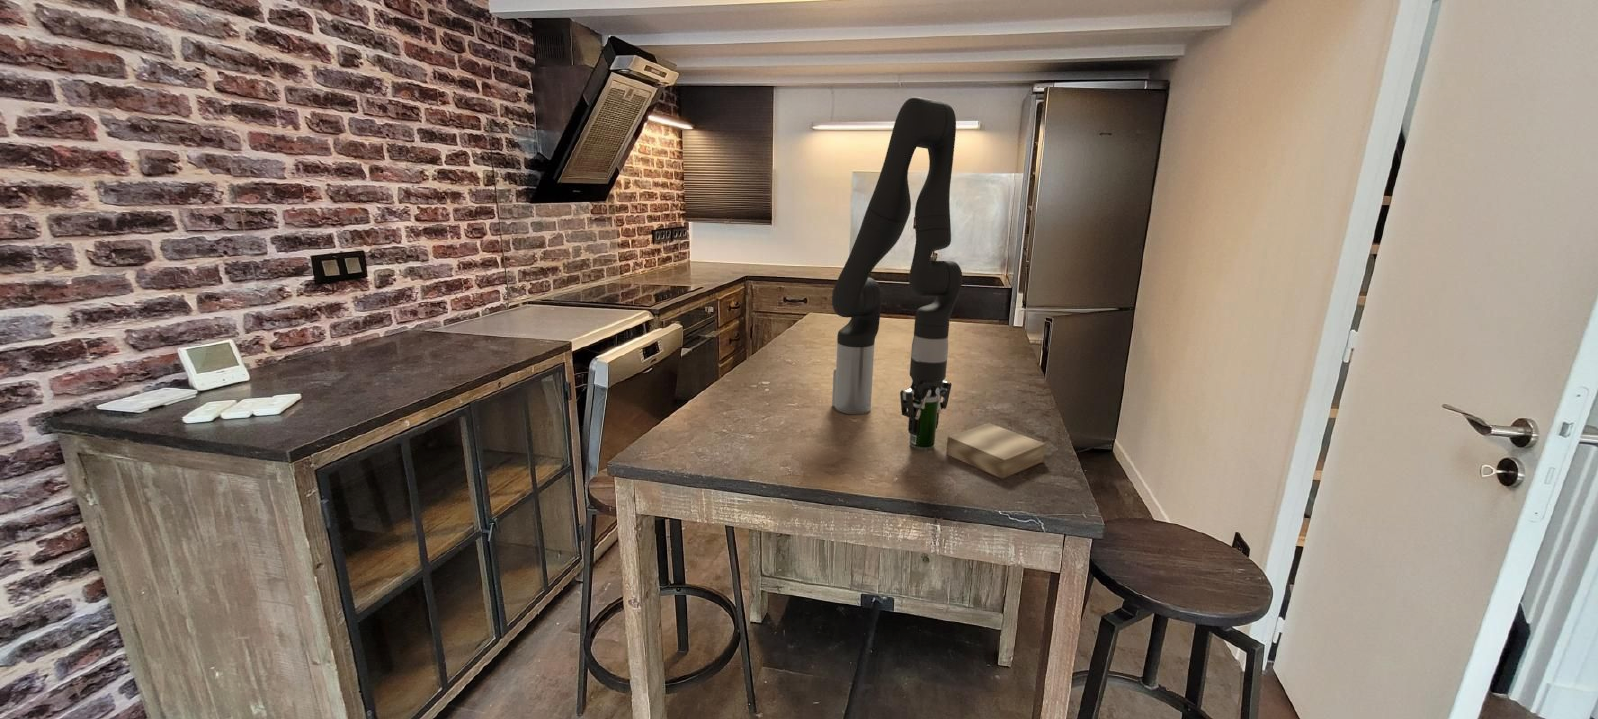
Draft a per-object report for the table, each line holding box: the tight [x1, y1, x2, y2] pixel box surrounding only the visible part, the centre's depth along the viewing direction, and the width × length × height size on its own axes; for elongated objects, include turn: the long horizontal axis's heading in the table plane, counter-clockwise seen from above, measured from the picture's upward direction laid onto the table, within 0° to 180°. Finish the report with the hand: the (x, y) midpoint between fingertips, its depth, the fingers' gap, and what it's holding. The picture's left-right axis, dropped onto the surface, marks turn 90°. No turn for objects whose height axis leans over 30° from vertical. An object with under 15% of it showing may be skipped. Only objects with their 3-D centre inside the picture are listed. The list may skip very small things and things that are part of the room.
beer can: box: [909, 394, 938, 451], centre depth 133 cm, size 5×5×12 cm
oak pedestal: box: [945, 422, 1046, 479], centre depth 129 cm, size 14×14×4 cm
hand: (922, 430), depth 134 cm, fingers closed on beer can, 5 cm apart
